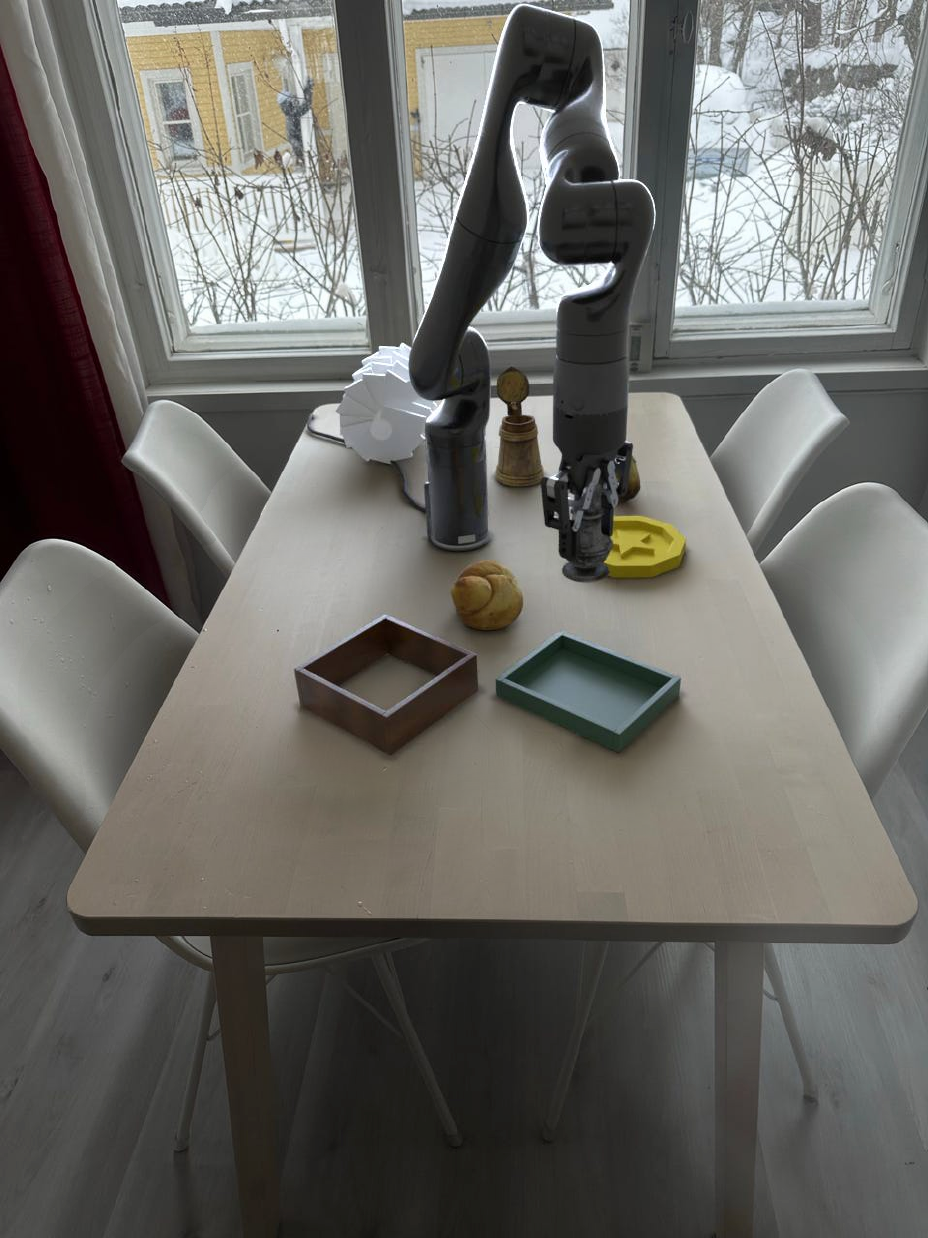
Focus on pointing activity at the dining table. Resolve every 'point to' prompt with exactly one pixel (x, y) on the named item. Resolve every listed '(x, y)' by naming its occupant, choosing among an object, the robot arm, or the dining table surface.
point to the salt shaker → (590, 545)
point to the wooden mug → (517, 434)
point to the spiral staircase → (384, 408)
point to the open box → (409, 715)
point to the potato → (631, 482)
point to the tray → (589, 689)
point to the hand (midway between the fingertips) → (586, 546)
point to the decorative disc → (643, 547)
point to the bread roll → (487, 596)
